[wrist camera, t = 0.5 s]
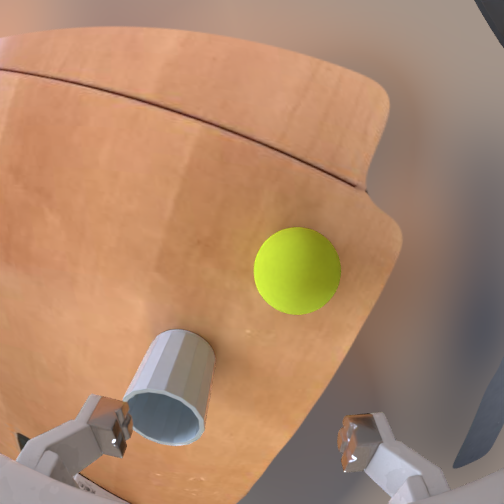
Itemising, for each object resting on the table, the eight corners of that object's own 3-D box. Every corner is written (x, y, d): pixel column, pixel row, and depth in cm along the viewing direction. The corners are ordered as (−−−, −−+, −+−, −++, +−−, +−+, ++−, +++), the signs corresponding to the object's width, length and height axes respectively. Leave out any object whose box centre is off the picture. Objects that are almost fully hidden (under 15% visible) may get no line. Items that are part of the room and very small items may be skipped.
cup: (146, 326, 29) (113, 382, 20) (215, 331, 29) (201, 394, 20) (154, 379, 31) (130, 438, 22) (216, 385, 31) (206, 449, 22)
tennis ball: (255, 217, 26) (255, 236, 20) (333, 221, 26) (357, 241, 20) (252, 292, 28) (251, 329, 21) (325, 294, 28) (343, 331, 21)
